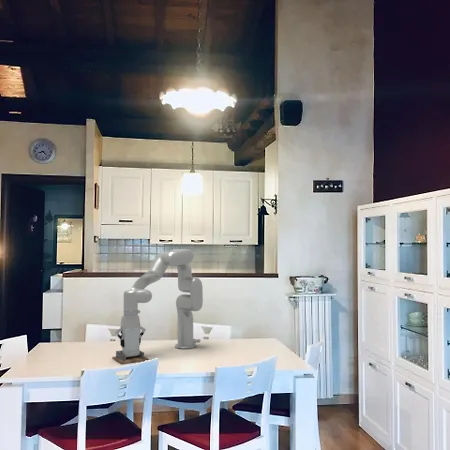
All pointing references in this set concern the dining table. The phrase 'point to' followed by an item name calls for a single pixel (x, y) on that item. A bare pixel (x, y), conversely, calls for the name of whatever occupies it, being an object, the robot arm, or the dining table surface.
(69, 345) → the dining table surface
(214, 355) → the dining table surface
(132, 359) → the u rest
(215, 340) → the dining table surface
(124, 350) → the skincare box
